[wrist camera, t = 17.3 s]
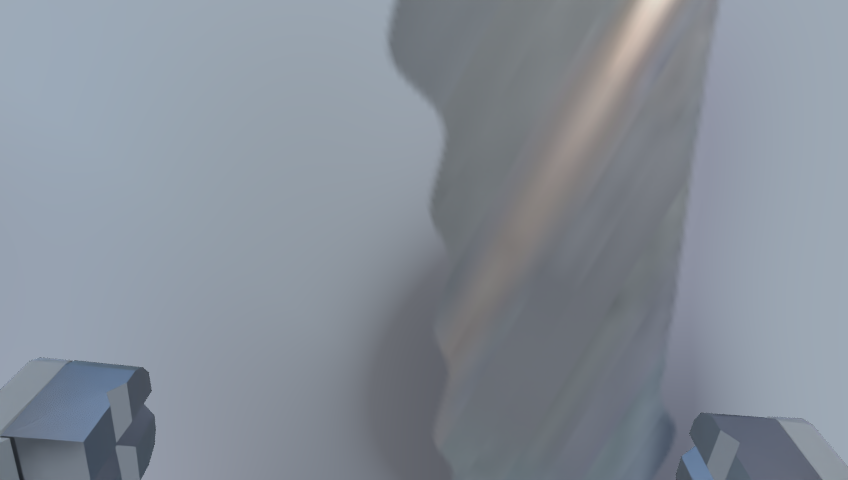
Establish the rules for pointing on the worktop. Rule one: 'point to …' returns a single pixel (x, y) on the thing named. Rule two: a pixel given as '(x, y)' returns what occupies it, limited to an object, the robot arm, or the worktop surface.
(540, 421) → the worktop surface
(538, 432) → the worktop surface
